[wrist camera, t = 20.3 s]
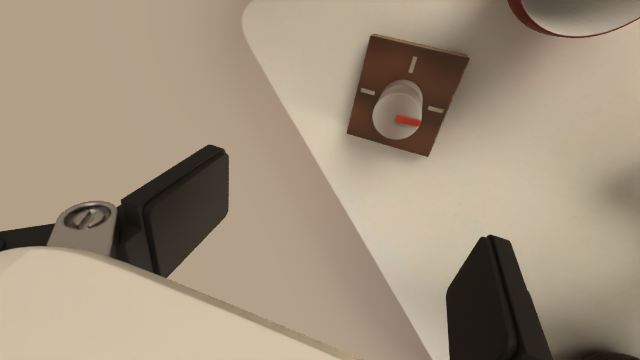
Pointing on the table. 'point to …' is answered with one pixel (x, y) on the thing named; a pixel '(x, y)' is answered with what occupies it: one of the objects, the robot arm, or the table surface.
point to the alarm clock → (611, 357)
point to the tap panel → (414, 65)
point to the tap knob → (398, 110)
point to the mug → (575, 16)
